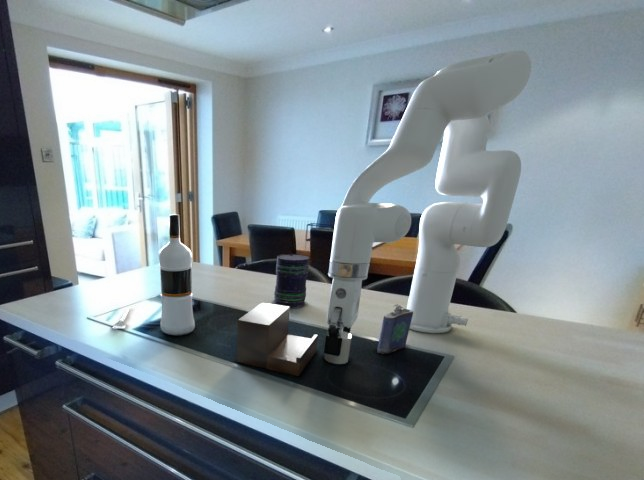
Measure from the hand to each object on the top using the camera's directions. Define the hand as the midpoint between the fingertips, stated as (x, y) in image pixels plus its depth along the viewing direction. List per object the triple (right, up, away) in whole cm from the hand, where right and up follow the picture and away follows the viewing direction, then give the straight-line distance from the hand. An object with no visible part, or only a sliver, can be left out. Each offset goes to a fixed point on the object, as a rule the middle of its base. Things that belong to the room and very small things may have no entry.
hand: (336, 346), depth 86 cm
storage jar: (-1, +13, +40) cm, 42 cm away
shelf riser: (-12, -2, +3) cm, 13 cm away
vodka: (-36, +4, +19) cm, 41 cm away
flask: (+15, -1, +6) cm, 16 cm away
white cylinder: (0, -3, +1) cm, 3 cm away
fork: (-52, +7, +27) cm, 59 cm away
